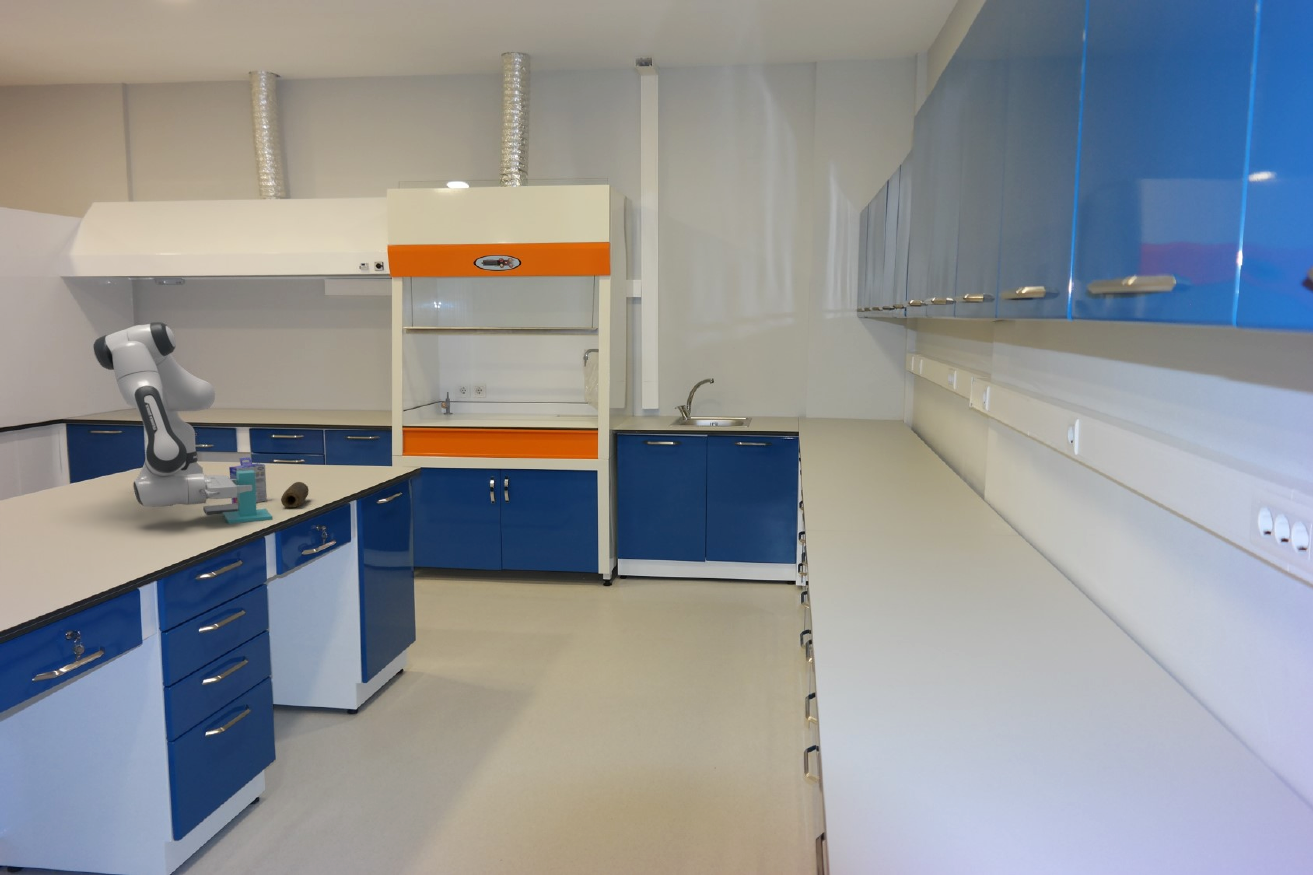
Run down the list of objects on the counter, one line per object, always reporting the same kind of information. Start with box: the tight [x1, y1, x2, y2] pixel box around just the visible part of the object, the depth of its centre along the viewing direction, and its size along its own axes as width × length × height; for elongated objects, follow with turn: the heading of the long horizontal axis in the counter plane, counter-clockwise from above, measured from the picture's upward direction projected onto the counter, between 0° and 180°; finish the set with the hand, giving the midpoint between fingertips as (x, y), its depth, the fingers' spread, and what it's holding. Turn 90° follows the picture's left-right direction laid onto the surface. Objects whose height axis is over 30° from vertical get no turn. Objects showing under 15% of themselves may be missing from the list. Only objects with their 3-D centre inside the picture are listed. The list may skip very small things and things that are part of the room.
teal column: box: [236, 470, 257, 517], centre depth 272 cm, size 4×4×13 cm
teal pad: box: [222, 508, 273, 525], centre depth 272 cm, size 12×12×1 cm
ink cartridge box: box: [228, 457, 268, 504], centre depth 294 cm, size 10×6×14 cm, turn 142°
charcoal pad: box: [203, 503, 238, 516], centre depth 282 cm, size 9×12×1 cm
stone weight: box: [280, 481, 310, 508], centre depth 292 cm, size 15×7×7 cm, turn 15°
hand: (249, 484), depth 272 cm, fingers open, 8 cm apart
